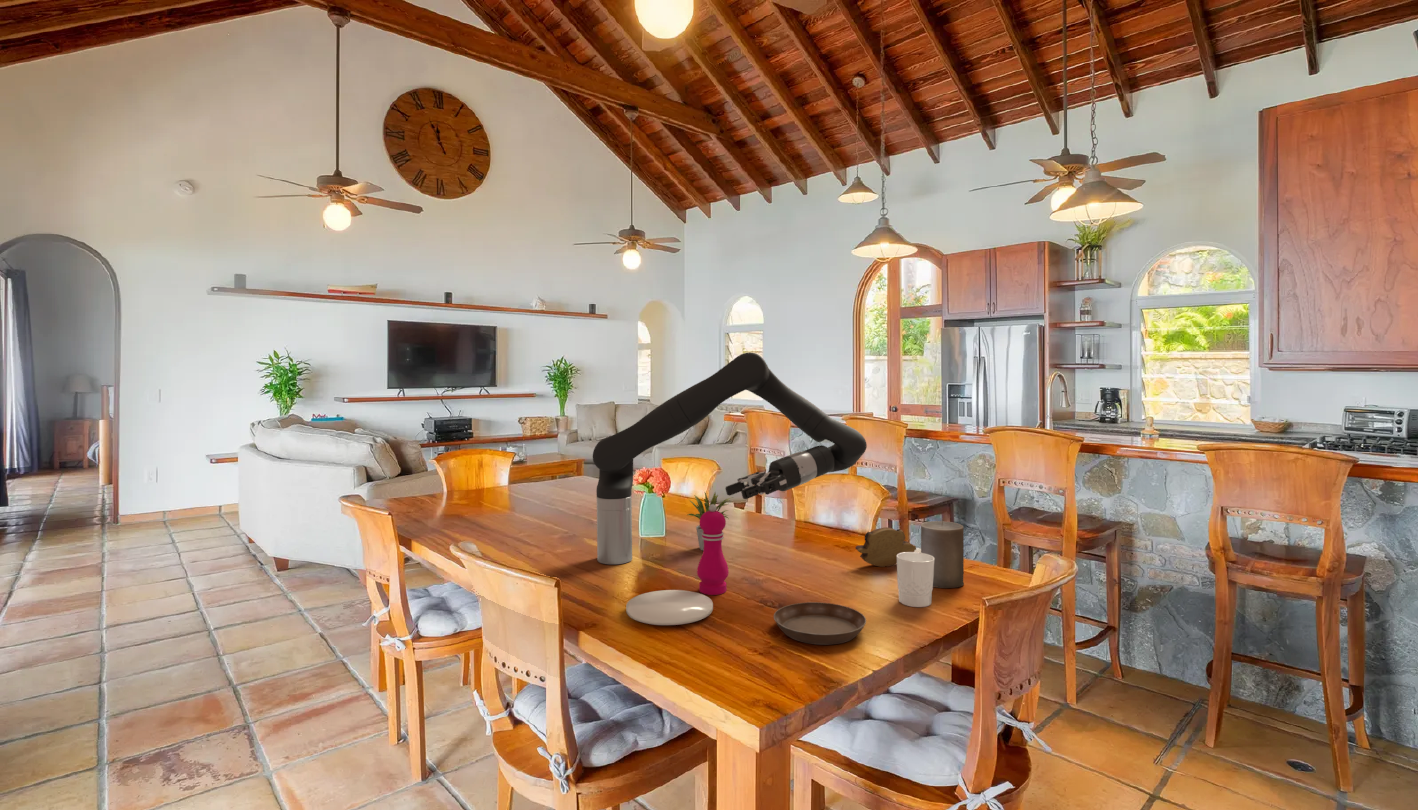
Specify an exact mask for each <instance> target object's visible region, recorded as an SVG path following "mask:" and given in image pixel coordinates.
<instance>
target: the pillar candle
mask: <svg viewBox="0 0 1418 810" xmlns="http://www.w3.org/2000/svg"><path fill="white" fill-rule="evenodd" d="M964 533H965V532H964V525H963V524H960V523H957V522H953V521H945V520H944V519H942V520H940V521H939V520H933V521H925V522H922V523H921V524H920V553H925V554H929V555H931V556H933V557H934V558H935V560H934V578H933V588H939V589H953V588H954V589H955V588H961V587H962V586H964V584H965V582H964V574H965V573H964V563H965V562H964V558H965V557H964V555H965V554H964V546H965V545H964V538H965V537H964V535H965V534H964Z"/></svg>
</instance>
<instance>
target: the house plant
mask: <svg viewBox="0 0 1418 810" xmlns="http://www.w3.org/2000/svg"><path fill="white" fill-rule="evenodd" d="M703 491H704V490H703ZM718 496H719V495H718V494H716V491H715V492H714V493H713V495H712V497H711V500H709V498H708V495H707V493H706V491H704V498H703V501H704V503H703V502H702V500H701V499H700V498H699V497H698V496H697V495H695V494H694V498H695V500H696V504H695V503H694V502H693V501H691V500H688V501H689V502H690V503H691V504H692V505H693V506H694V507H695V508H696V510H697V511H698V513H695V514H694V513H688V514H687V516H690V517H692V516H693V517H695V518H698V520H700V518H701V516H702V515H703V514H704V513H705V512H707V511H709V506H710V505H711V504H714V505H715V506H716V504H717V502H718V501H717V499H718ZM733 498H734V497H729V498H726V499H724V500H722V501H721V502H720V503H719V504H718V505H717V506H716V511H718V512H720V510H721V508H722V507H724V506H727V505H729V502H730V501H732V500H730V499H733ZM709 501H710V502H709ZM727 511H729V510H727V509H725V510H723V511H721V512H720V513H722V514H723V515H724V517H725V519H728V520H730V518H729V517H728V516H730V515H727V514H726V513H725V512H727ZM695 529H696V535H697V541H698V546H699V548H698V549H700V551H704V540H703V539H702V532H703V530H702V529H701V527H700V524H698V525H696V526H695Z"/></svg>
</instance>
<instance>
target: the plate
mask: <svg viewBox="0 0 1418 810" xmlns="http://www.w3.org/2000/svg"><path fill="white" fill-rule="evenodd" d="M625 610H626V611H625V612H626V615H627V616H628V617H629V618H631V619H632V620H635V621H636V622H640V623H644V624H647V625H648V624H649V625H654V626H676V625H677V626H678V625H686V624H690V623H695V622H698V621H702V619H705V618H707V617H709V616H710V615H711V614H712V612H713V610H714V603H713V600H712V599H711V598H710V597H709V596H707V595H706V594H703V593H701V592H700V593H699V592H695V591H689V590H683V589H665V590H655V591H654V590H653V591H649V592H645V593H641V594H639V595H636V596H634V597H632V598H631V599H629V600H628V601H627V602H626V608H625Z"/></svg>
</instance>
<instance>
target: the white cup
mask: <svg viewBox="0 0 1418 810" xmlns="http://www.w3.org/2000/svg"><path fill="white" fill-rule="evenodd" d="M896 557H897V563H896V575H897V578H896V580H897V590H898V601H899V603H901V604H902V605H904V606H907V607H913V608H926V607H929V606H931V605H932V597H933V596H932V595H933V594H932V592H933V589H934V587H933V578H934V560H935V558H934V557H933V556H931V555H929V554H925V553H921V552H919V551H918V552H916V551H914V552H903V553H899V554H897V556H896Z"/></svg>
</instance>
